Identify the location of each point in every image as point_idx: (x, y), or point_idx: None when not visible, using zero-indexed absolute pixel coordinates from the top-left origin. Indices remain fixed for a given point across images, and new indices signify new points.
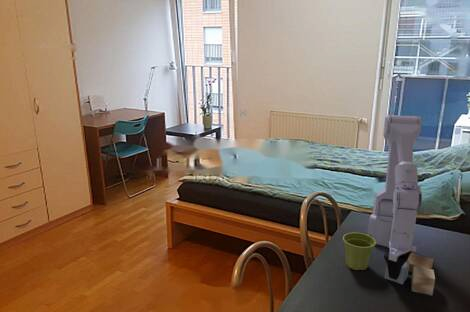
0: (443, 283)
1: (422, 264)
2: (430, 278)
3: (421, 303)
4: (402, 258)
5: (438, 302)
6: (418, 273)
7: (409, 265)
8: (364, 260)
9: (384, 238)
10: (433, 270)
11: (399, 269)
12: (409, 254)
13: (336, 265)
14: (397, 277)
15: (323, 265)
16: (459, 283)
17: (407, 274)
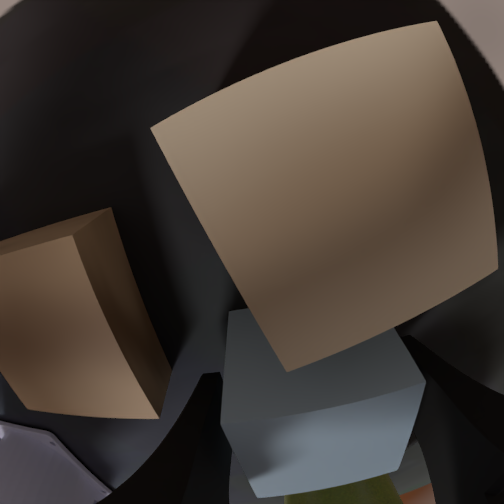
0: (87, 80)
1: (50, 305)
2: (460, 79)
3: (485, 107)
4: (212, 459)
5: (398, 11)
6: (446, 250)
7: (141, 366)
8: (384, 494)
9: (64, 487)
10: (175, 119)
11: (491, 391)
12: (186, 492)
13: None
14: (423, 345)
15: (403, 486)
16: (16, 30)
17: (243, 324)
